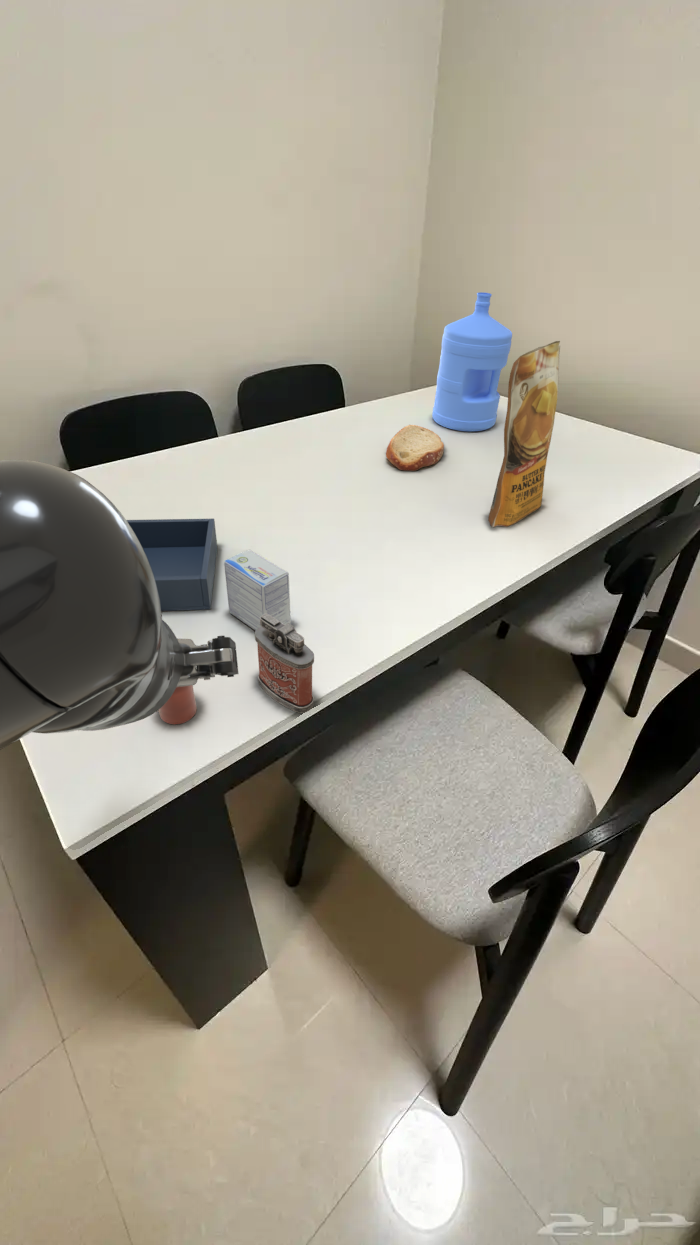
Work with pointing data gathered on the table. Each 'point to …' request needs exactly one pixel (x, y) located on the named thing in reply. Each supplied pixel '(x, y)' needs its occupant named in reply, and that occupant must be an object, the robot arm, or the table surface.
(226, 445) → the table surface
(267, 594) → the medicine box
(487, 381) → the water jug
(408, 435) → the slice of bread
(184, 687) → the terracotta red cylinder
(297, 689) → the lighter
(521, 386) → the pancake mix bag
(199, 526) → the bin
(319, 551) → the table surface
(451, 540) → the table surface
